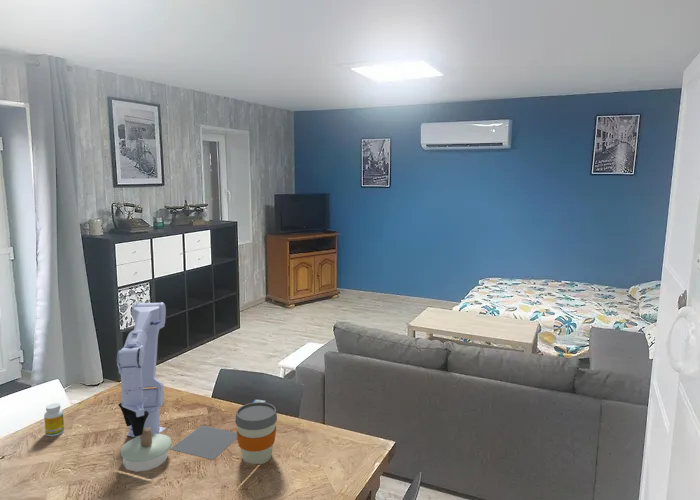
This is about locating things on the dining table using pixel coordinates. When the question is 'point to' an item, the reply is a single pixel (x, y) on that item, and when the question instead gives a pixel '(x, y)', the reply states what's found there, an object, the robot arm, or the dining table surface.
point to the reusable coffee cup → (256, 431)
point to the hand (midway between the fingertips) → (134, 430)
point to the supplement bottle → (54, 420)
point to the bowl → (145, 463)
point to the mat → (206, 442)
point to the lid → (145, 446)
